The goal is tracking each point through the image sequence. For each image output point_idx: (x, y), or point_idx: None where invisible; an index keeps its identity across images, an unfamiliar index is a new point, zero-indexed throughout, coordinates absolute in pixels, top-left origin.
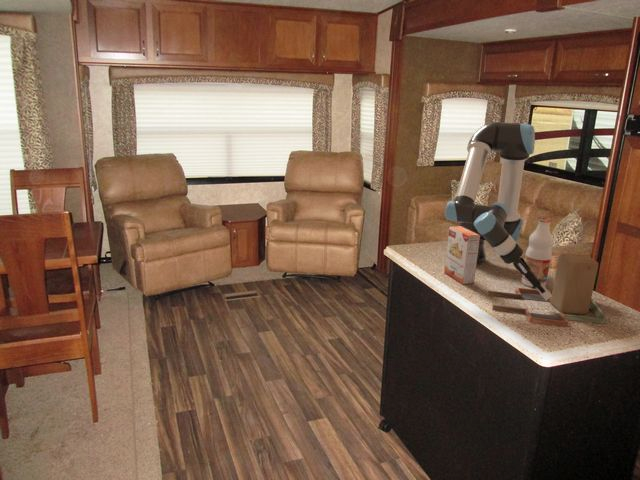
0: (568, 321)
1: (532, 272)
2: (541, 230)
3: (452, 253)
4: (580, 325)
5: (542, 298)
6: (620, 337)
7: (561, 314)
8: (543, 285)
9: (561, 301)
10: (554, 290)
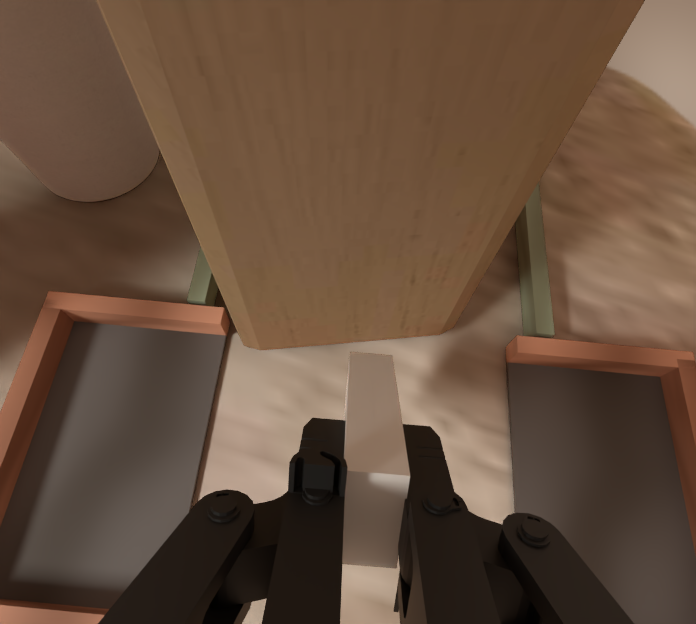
0: (672, 350)
1: (178, 605)
2: None
3: None
4: (608, 277)
5: (163, 388)
6: (679, 134)
7: (540, 355)
8: (368, 430)
9: (447, 302)
10: (282, 296)
